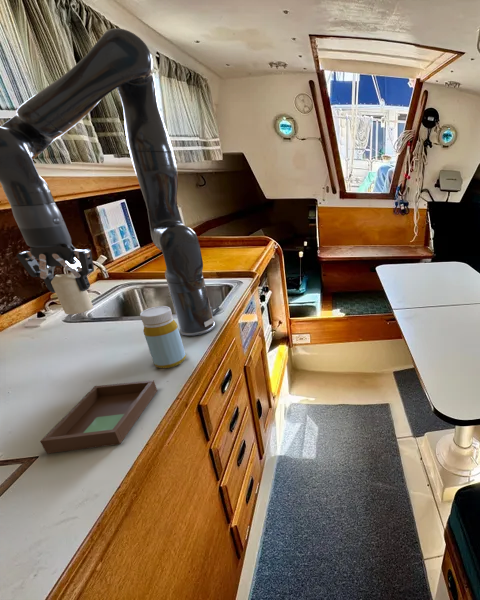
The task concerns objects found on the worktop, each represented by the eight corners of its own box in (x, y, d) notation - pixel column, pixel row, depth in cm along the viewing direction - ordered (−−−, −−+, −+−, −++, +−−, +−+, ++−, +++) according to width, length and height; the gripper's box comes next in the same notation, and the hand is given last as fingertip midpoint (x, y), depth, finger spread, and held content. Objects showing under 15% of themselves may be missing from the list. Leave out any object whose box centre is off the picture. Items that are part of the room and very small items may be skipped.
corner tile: (97, 417, 66) (96, 417, 66) (134, 413, 68) (134, 412, 67) (74, 444, 60) (73, 443, 60) (116, 438, 61) (116, 438, 61)
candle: (92, 303, 88) (78, 268, 83) (94, 310, 84) (79, 274, 80) (64, 309, 84) (48, 273, 80) (65, 316, 80) (48, 279, 76)
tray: (99, 396, 73) (94, 385, 71) (157, 390, 75) (154, 380, 74) (46, 453, 59) (39, 441, 57) (120, 444, 61) (114, 431, 60)
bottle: (151, 372, 81) (134, 319, 75) (158, 357, 87) (142, 307, 81) (184, 366, 84) (169, 314, 78) (188, 352, 90) (174, 303, 84)
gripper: (88, 220, 80) (112, 283, 87) (18, 221, 77) (48, 287, 84) (67, 226, 73) (94, 294, 80) (-11, 227, 70) (24, 298, 77)
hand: (70, 290), depth 82 cm, fingers closed on candle, 5 cm apart
